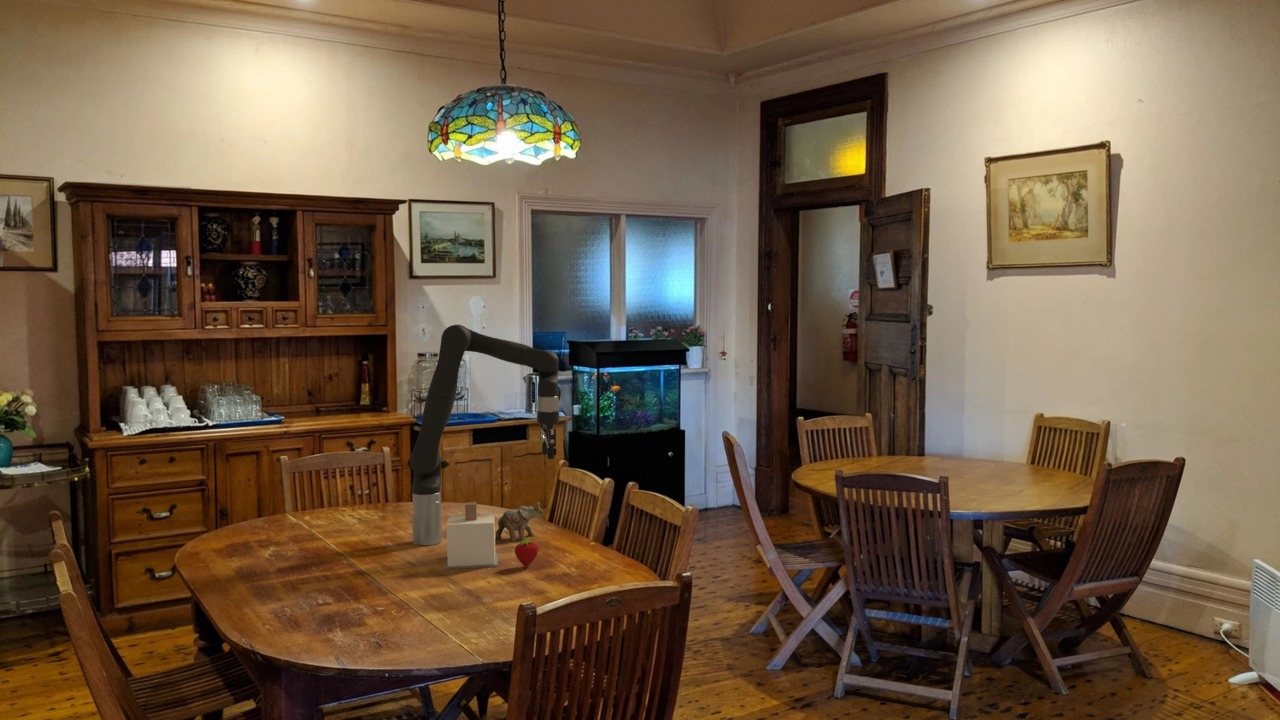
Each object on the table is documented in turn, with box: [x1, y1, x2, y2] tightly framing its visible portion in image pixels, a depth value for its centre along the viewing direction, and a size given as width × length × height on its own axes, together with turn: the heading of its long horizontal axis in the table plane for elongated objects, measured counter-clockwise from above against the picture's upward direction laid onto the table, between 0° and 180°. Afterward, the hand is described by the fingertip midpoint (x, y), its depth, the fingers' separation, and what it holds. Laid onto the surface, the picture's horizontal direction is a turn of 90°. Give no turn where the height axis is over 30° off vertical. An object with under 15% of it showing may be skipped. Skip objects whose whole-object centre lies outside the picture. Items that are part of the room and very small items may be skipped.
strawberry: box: [514, 537, 540, 568], centre depth 291 cm, size 6×8×10 cm
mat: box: [444, 552, 499, 570], centre depth 298 cm, size 16×14×1 cm
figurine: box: [495, 501, 544, 543], centre depth 325 cm, size 10×14×15 cm, turn 88°
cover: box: [446, 501, 496, 566], centre depth 297 cm, size 14×12×18 cm
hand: (548, 456), depth 322 cm, fingers open, 8 cm apart
